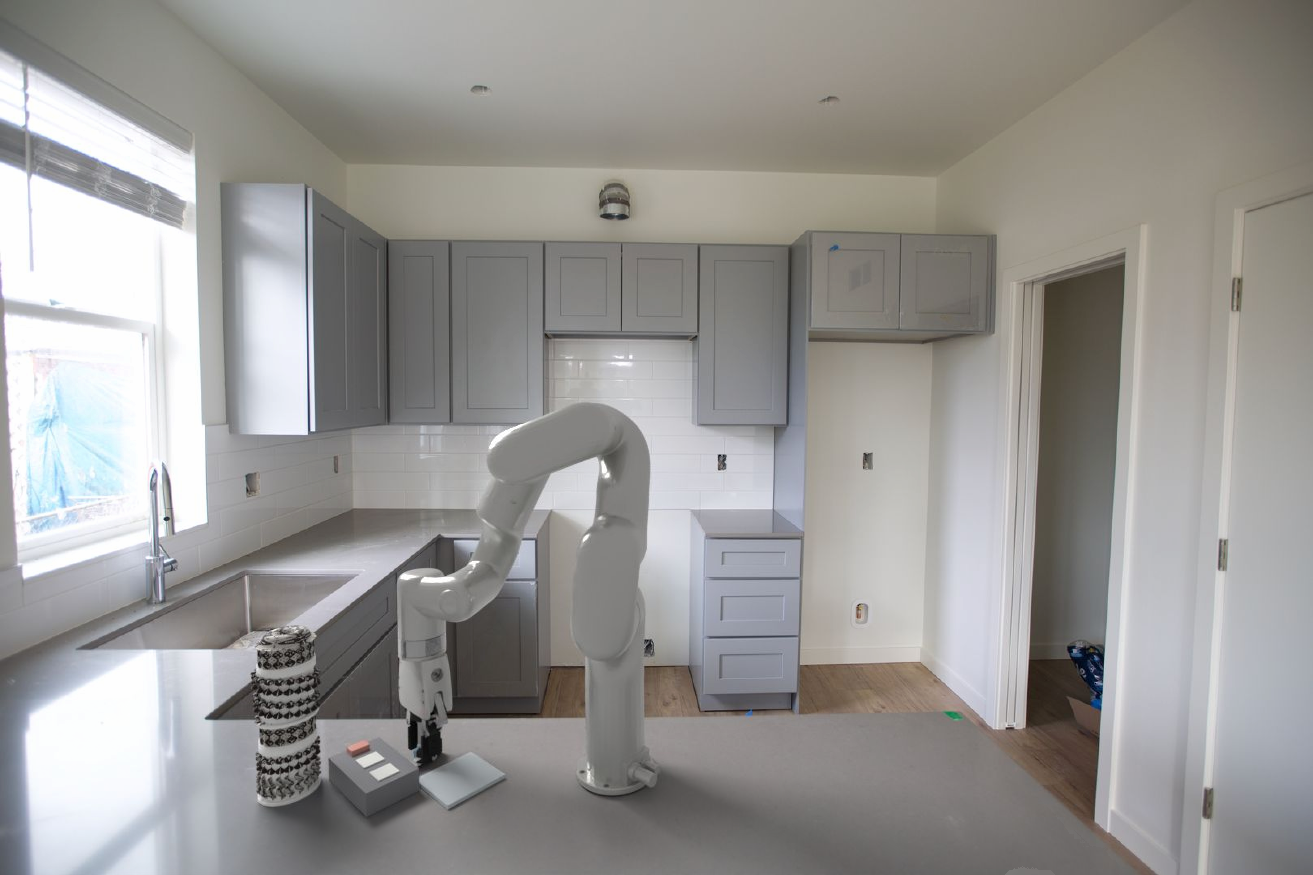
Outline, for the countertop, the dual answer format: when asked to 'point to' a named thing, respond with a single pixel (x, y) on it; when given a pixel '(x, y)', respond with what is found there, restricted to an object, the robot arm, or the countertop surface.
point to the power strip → (373, 775)
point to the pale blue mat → (459, 779)
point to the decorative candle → (286, 716)
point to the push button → (417, 752)
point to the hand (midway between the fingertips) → (424, 750)
